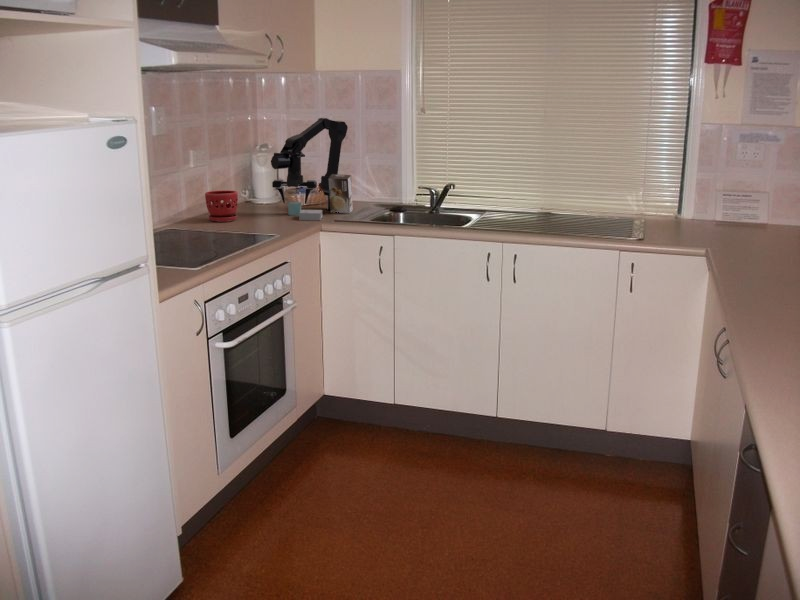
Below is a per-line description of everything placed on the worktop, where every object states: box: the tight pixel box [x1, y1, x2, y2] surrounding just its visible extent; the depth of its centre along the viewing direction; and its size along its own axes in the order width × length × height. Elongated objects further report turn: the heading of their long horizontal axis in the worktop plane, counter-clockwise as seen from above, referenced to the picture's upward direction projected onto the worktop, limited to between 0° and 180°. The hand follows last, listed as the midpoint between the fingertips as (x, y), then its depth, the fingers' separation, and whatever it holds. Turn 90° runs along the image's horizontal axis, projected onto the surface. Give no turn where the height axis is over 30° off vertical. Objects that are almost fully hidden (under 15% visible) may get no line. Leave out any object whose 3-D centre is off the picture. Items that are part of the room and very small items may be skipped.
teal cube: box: [287, 201, 302, 216], centre depth 351 cm, size 5×5×5 cm
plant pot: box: [204, 190, 239, 223], centre depth 332 cm, size 13×13×12 cm
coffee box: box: [329, 174, 354, 214], centre depth 355 cm, size 9×6×16 cm
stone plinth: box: [298, 209, 323, 221], centre depth 341 cm, size 9×9×3 cm
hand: (295, 203), depth 350 cm, fingers open, 9 cm apart
